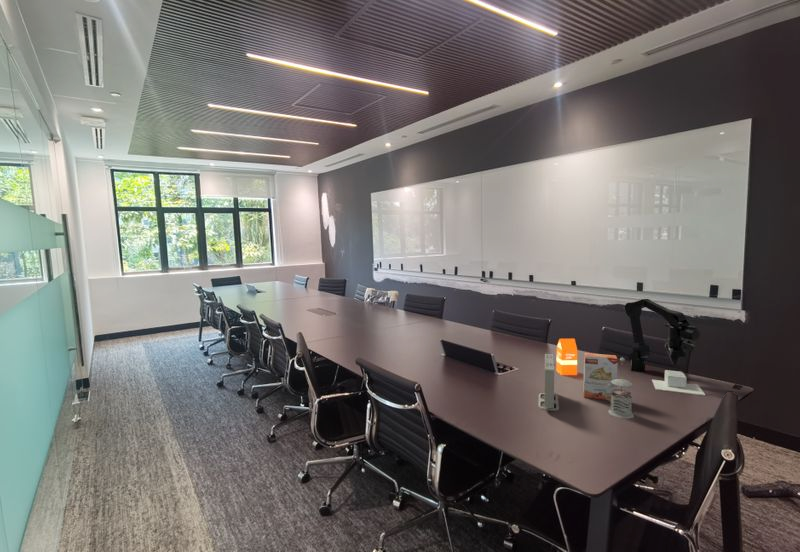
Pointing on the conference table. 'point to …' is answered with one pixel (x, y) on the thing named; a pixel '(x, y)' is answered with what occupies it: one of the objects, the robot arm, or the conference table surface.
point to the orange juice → (567, 357)
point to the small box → (675, 379)
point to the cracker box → (599, 375)
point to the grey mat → (678, 388)
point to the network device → (549, 386)
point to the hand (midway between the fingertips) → (674, 365)
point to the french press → (619, 409)
